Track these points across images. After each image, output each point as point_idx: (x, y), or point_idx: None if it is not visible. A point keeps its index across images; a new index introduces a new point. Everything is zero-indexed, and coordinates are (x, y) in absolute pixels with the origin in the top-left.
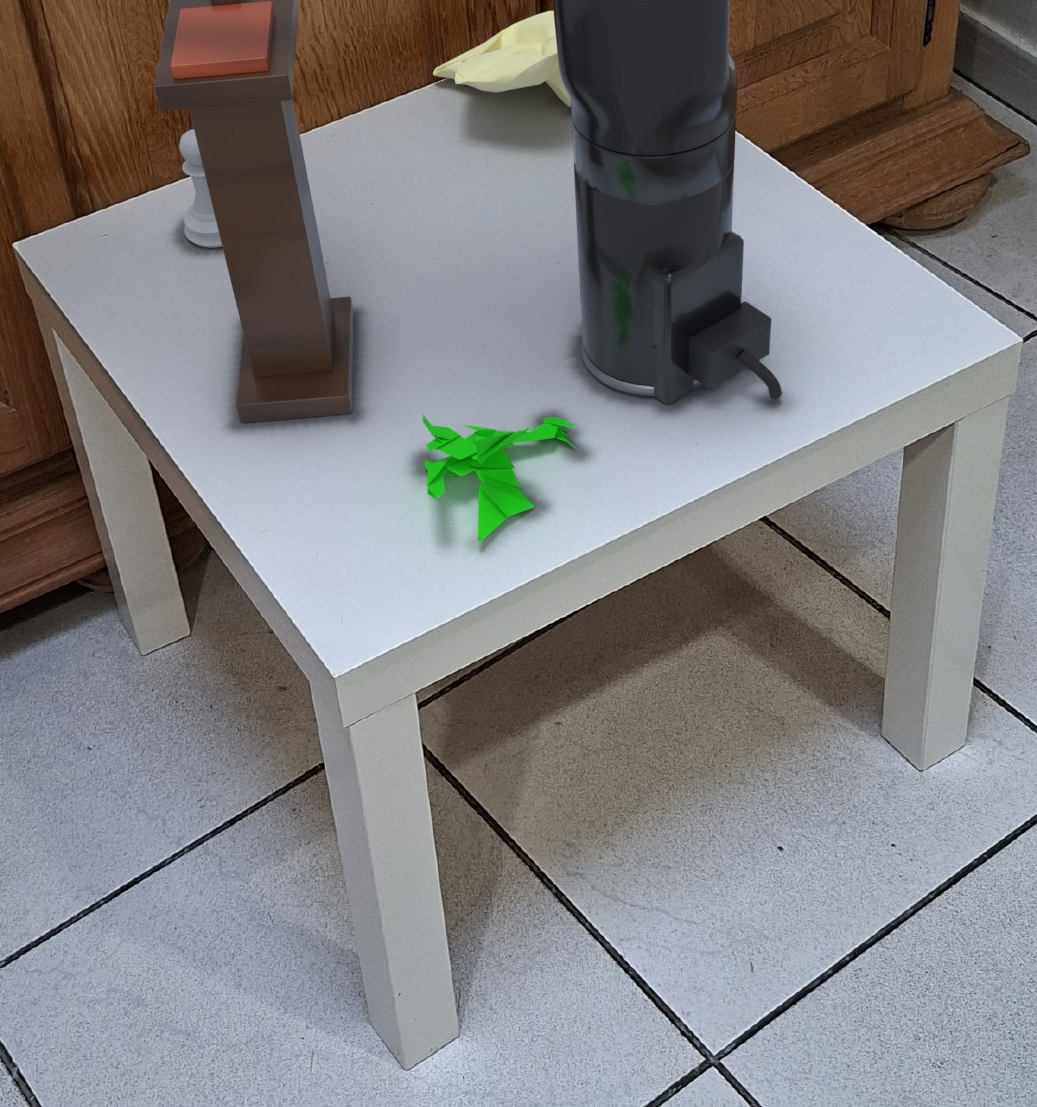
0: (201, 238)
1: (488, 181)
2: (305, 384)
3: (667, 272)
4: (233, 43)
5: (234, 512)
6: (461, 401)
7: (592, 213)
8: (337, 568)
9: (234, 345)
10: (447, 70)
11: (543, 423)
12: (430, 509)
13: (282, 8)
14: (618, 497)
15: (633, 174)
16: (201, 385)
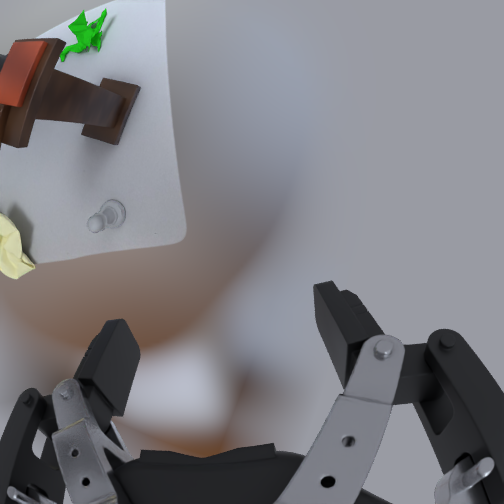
0: (119, 205)
1: (31, 196)
2: (112, 88)
3: (7, 55)
4: (15, 58)
5: (161, 46)
6: (77, 76)
7: (3, 64)
8: (144, 16)
9: (127, 133)
10: (29, 262)
11: (64, 53)
12: (108, 32)
13: None
14: (67, 28)
15: None
16: (145, 114)
